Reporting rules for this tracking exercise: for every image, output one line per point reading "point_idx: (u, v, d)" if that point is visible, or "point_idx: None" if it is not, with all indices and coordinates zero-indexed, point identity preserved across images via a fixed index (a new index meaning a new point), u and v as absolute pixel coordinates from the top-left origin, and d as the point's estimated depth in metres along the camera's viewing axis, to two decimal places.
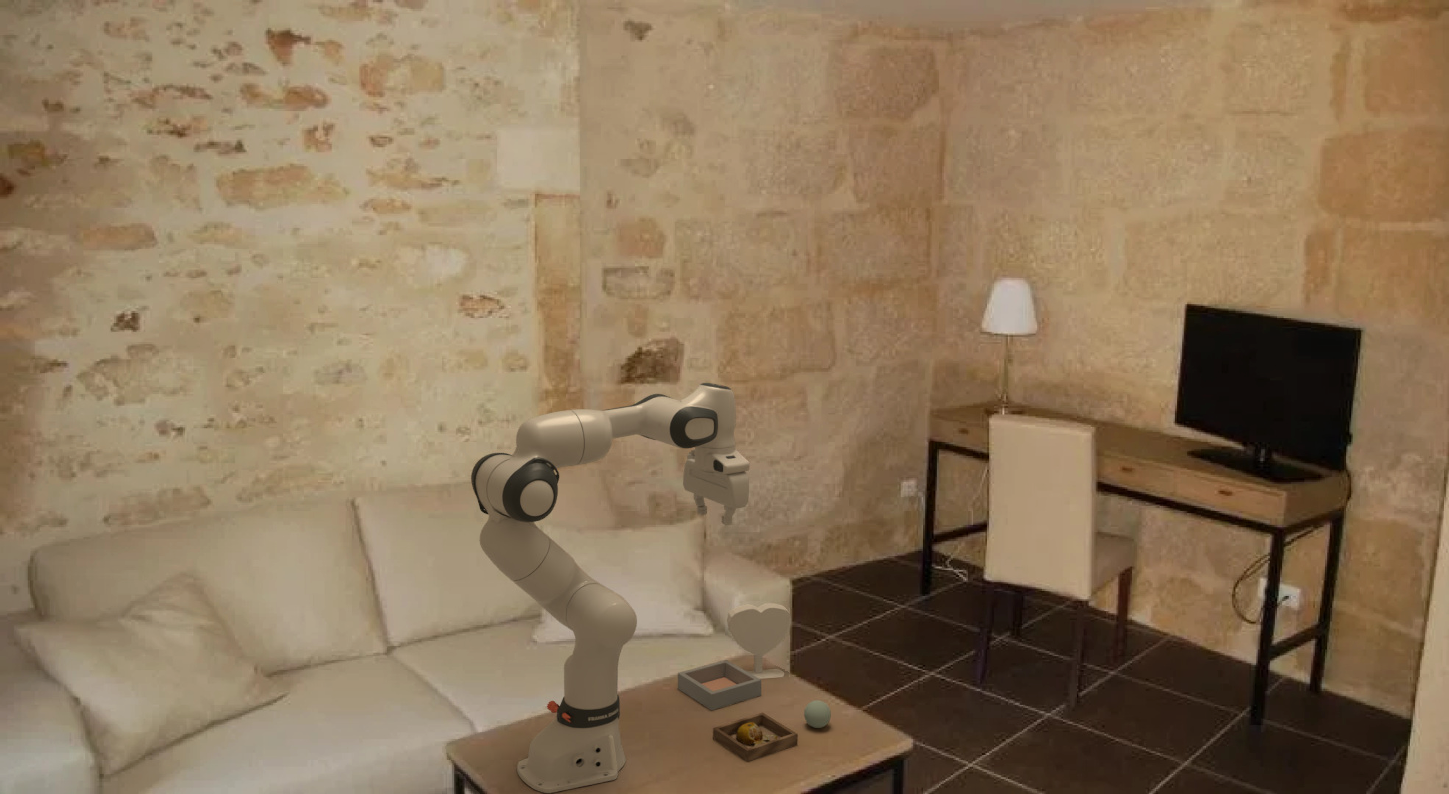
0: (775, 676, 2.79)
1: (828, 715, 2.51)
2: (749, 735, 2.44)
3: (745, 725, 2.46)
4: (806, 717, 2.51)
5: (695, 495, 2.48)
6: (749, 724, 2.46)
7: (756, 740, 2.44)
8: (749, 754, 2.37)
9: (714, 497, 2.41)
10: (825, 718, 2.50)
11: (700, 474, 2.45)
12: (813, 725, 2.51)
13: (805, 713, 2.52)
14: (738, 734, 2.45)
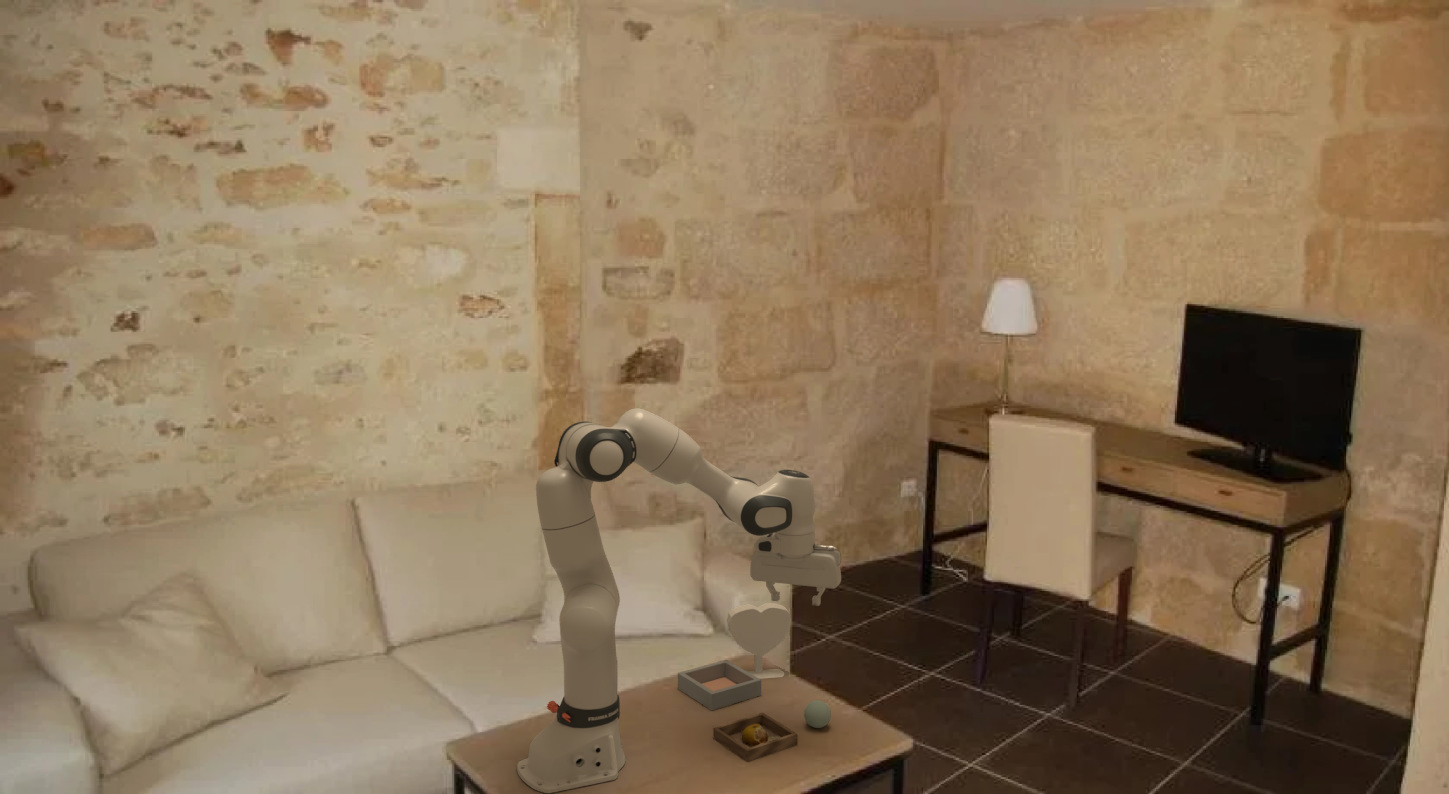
0: (775, 676, 2.79)
1: (828, 715, 2.51)
2: (755, 737, 2.43)
3: (750, 727, 2.46)
4: (806, 717, 2.51)
5: None
6: (754, 726, 2.46)
7: (761, 742, 2.43)
8: (749, 754, 2.37)
9: None
10: (825, 718, 2.50)
11: None
12: (813, 725, 2.51)
13: (805, 713, 2.52)
14: (743, 736, 2.45)
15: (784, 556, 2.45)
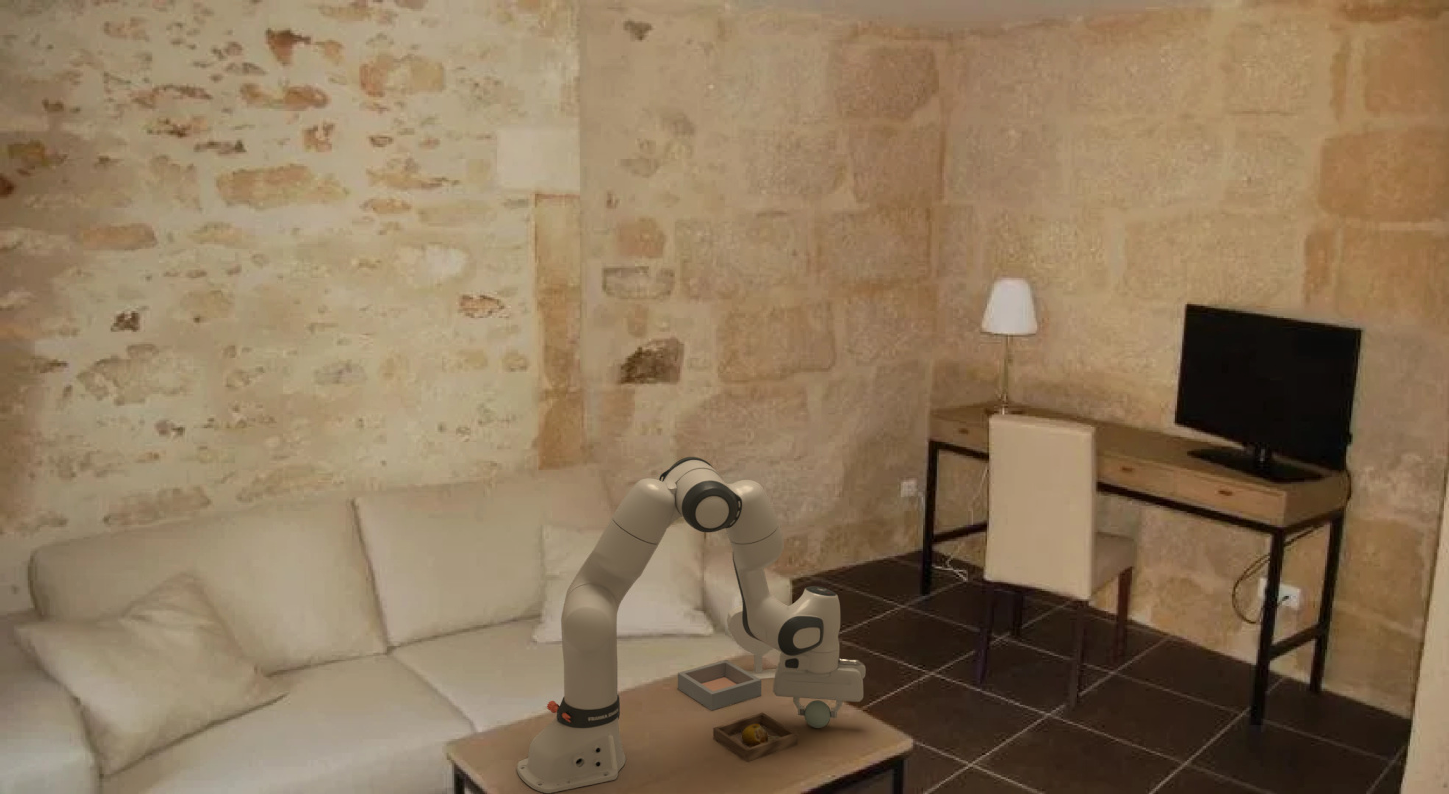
0: None
1: (828, 715, 2.51)
2: (755, 737, 2.43)
3: (750, 727, 2.45)
4: (806, 717, 2.51)
5: None
6: (754, 726, 2.46)
7: (762, 741, 2.43)
8: (749, 754, 2.37)
9: None
10: (825, 718, 2.50)
11: None
12: (813, 725, 2.51)
13: (805, 713, 2.52)
14: (744, 736, 2.44)
15: (811, 672, 2.48)
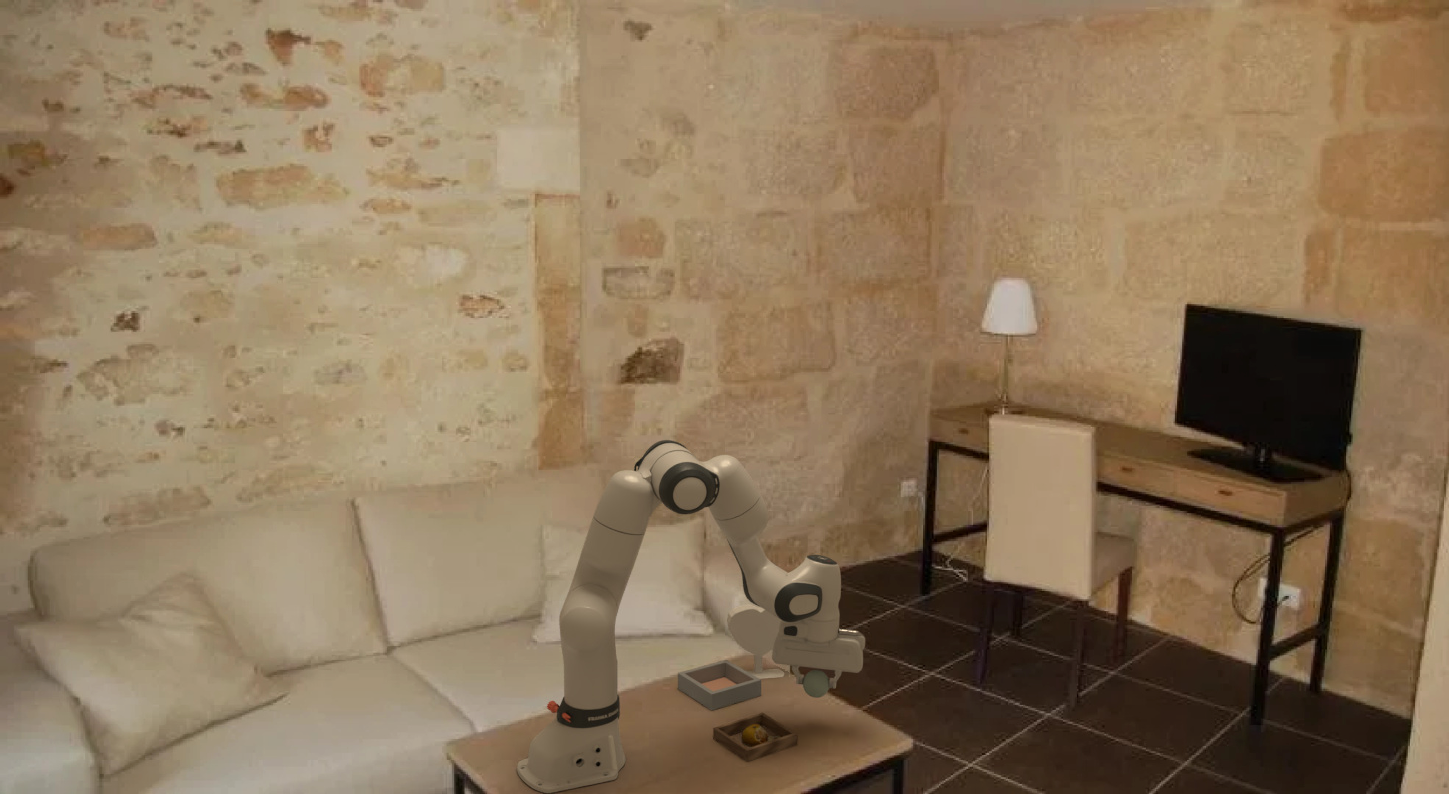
0: (775, 676, 2.79)
1: (826, 685, 2.50)
2: (755, 737, 2.43)
3: (750, 727, 2.45)
4: (804, 686, 2.50)
5: None
6: (754, 726, 2.46)
7: (762, 742, 2.43)
8: (749, 754, 2.37)
9: None
10: (823, 687, 2.49)
11: None
12: (811, 694, 2.50)
13: (803, 682, 2.51)
14: (744, 736, 2.44)
15: (809, 641, 2.47)
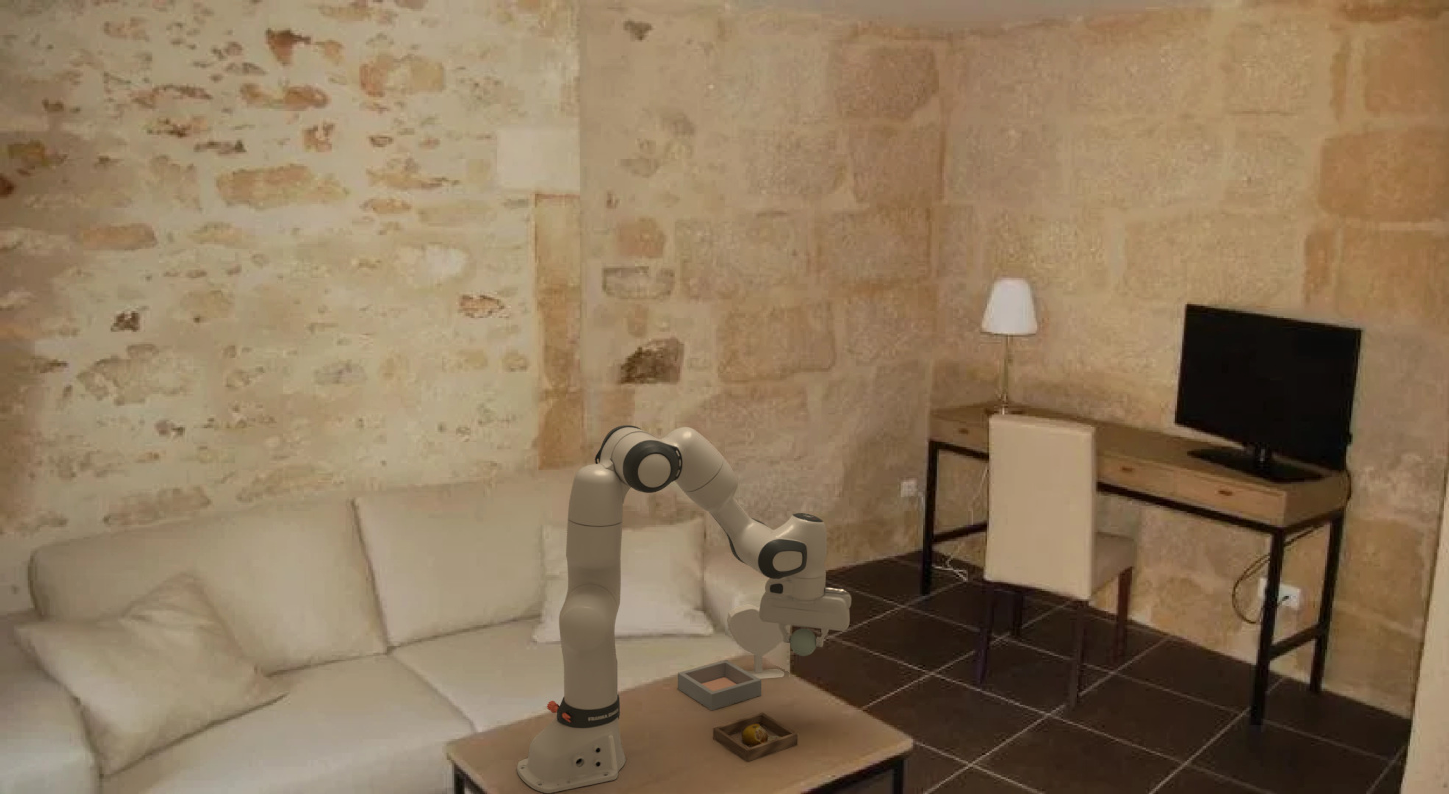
0: (775, 676, 2.79)
1: (813, 643, 2.50)
2: (756, 737, 2.43)
3: (750, 727, 2.45)
4: (791, 644, 2.51)
5: None
6: (754, 726, 2.46)
7: (762, 741, 2.43)
8: (749, 754, 2.37)
9: None
10: (809, 645, 2.49)
11: None
12: (797, 652, 2.50)
13: (790, 640, 2.52)
14: (744, 736, 2.44)
15: (795, 598, 2.48)
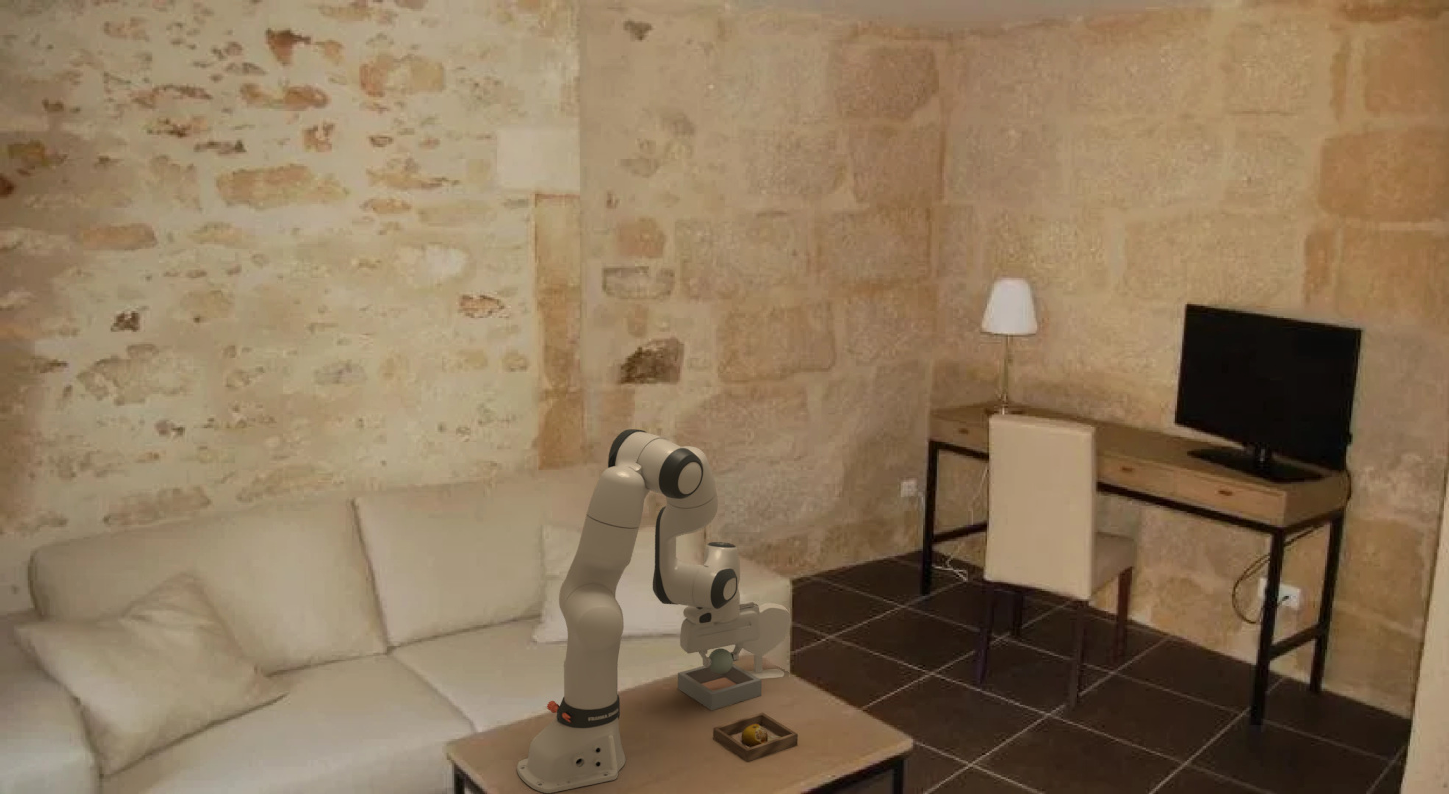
0: (775, 676, 2.79)
1: (732, 659, 2.69)
2: (756, 737, 2.43)
3: (750, 727, 2.45)
4: (715, 666, 2.66)
5: None
6: (754, 726, 2.46)
7: (762, 742, 2.43)
8: (749, 754, 2.37)
9: None
10: (732, 662, 2.68)
11: None
12: (722, 672, 2.67)
13: (713, 663, 2.66)
14: (744, 736, 2.44)
15: (720, 622, 2.64)
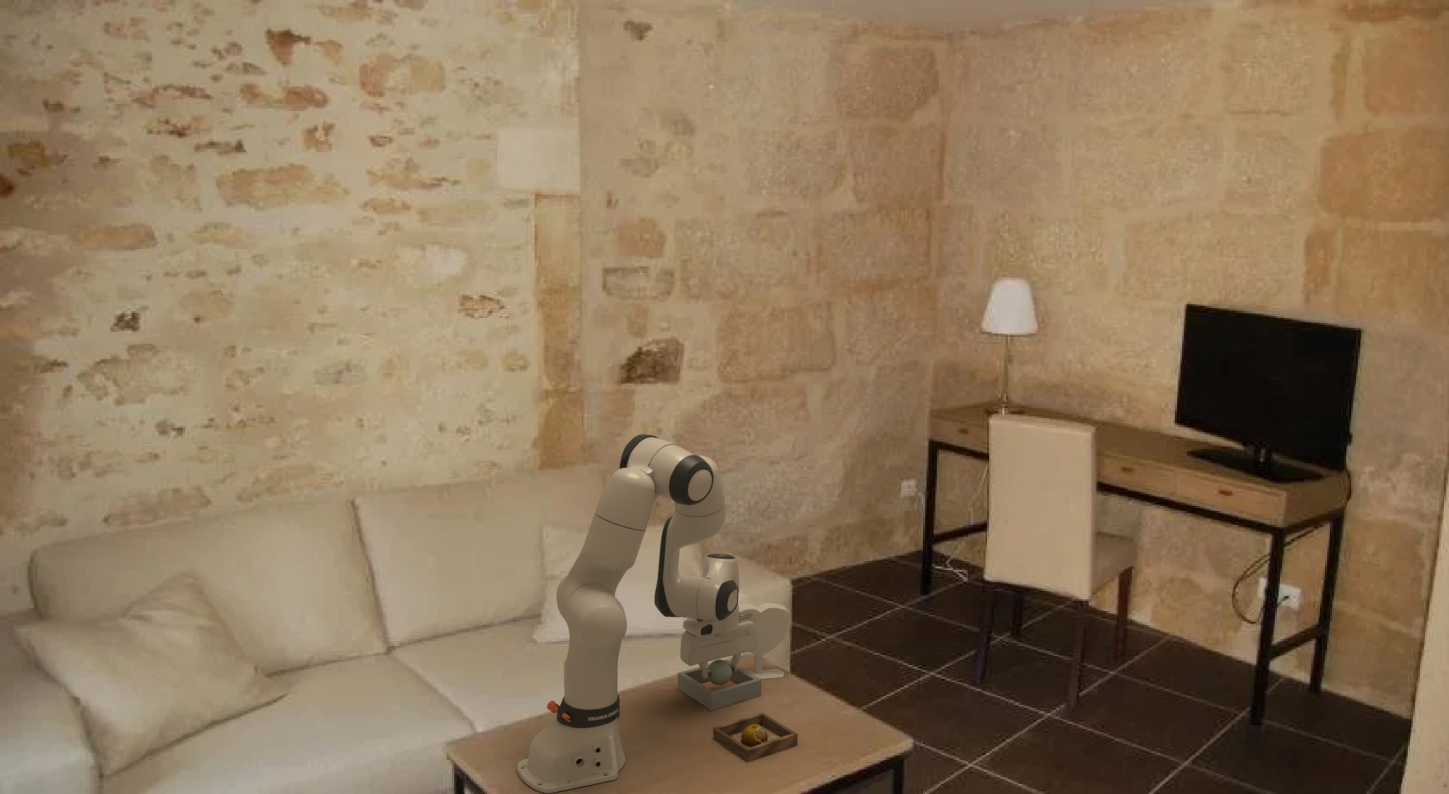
0: (775, 676, 2.79)
1: (731, 670, 2.69)
2: (756, 737, 2.43)
3: (750, 727, 2.45)
4: (715, 677, 2.67)
5: None
6: (754, 726, 2.46)
7: (762, 741, 2.43)
8: (749, 754, 2.37)
9: None
10: (731, 673, 2.68)
11: None
12: (721, 683, 2.67)
13: (712, 674, 2.67)
14: (744, 736, 2.44)
15: (720, 634, 2.64)
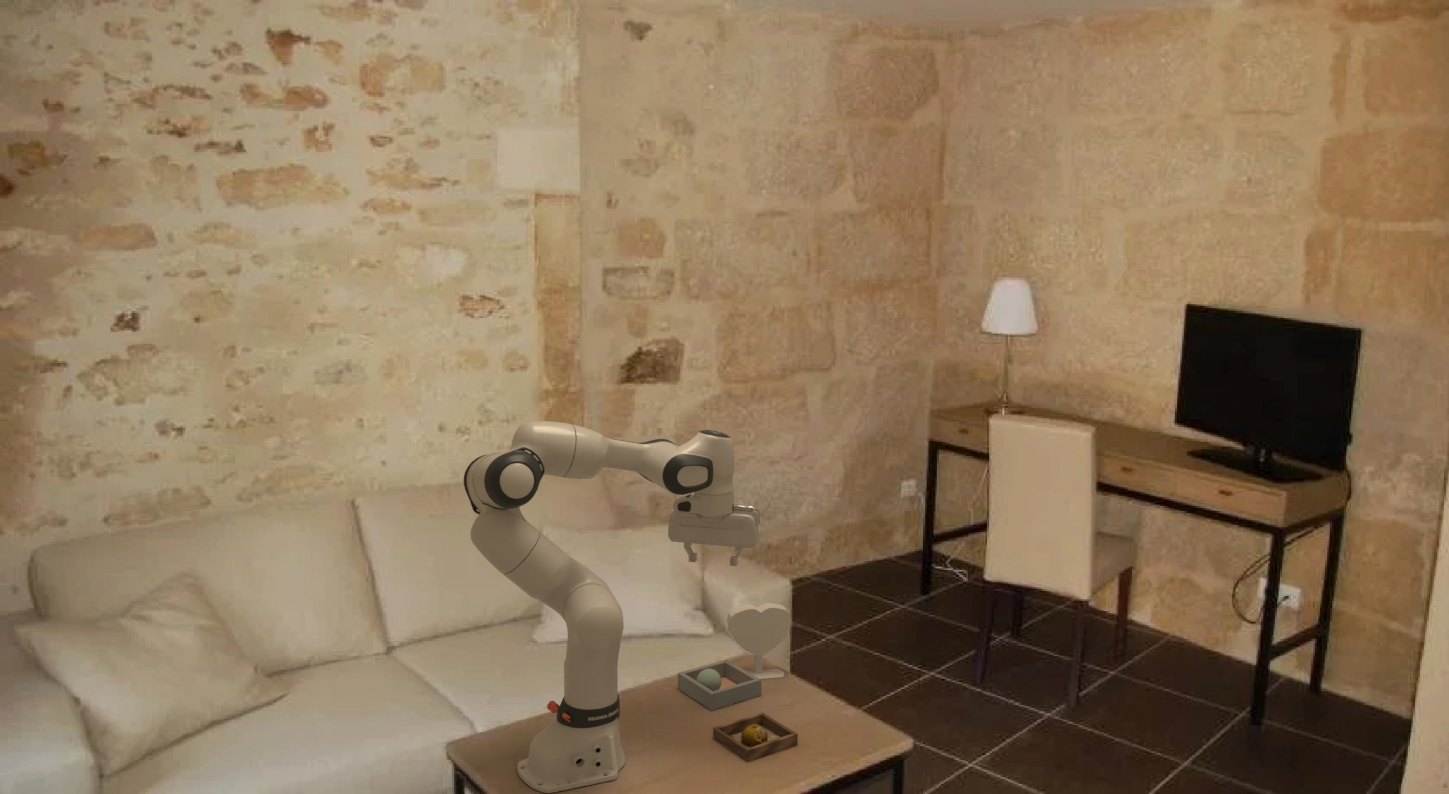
0: (775, 676, 2.79)
1: (715, 673, 2.67)
2: (756, 737, 2.43)
3: (750, 727, 2.45)
4: None
5: None
6: (754, 726, 2.45)
7: (763, 741, 2.43)
8: (749, 754, 2.37)
9: None
10: (717, 677, 2.66)
11: None
12: None
13: None
14: (744, 737, 2.44)
15: (703, 516, 2.45)
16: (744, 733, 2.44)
